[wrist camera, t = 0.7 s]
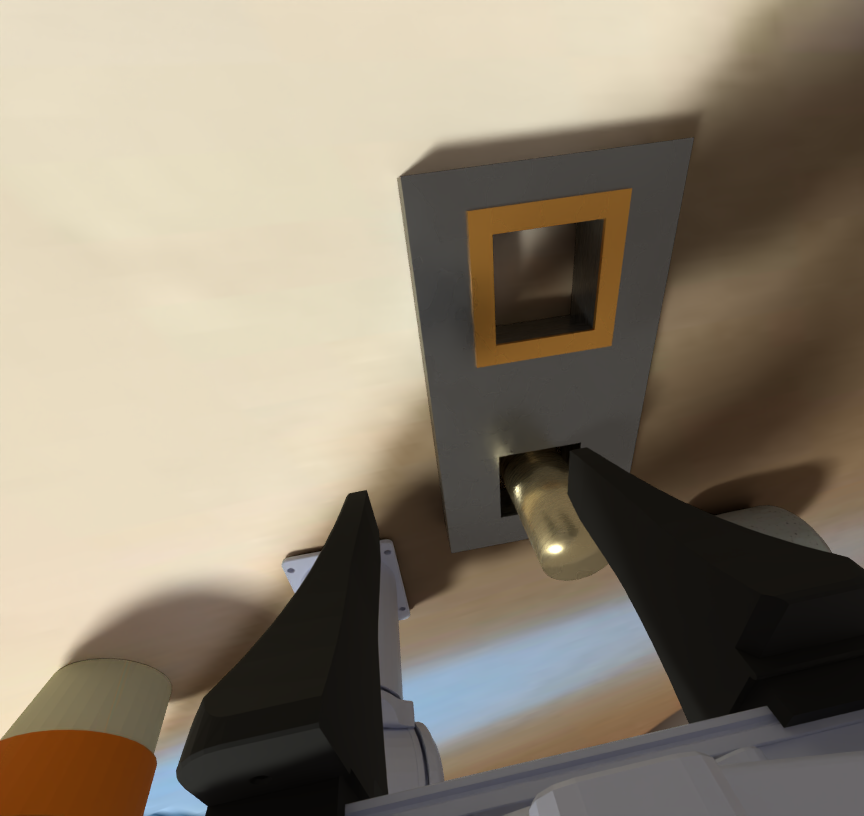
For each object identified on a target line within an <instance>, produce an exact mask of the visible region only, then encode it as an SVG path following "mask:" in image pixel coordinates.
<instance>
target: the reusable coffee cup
mask: <svg viewBox="0 0 864 816" xmlns="http://www.w3.org/2000/svg"><path fill="white" fill-rule="evenodd" d="M171 691H172V686H171V683H170V681H169V679H168V678H167V677H166V676H165V675H164V674H162V673H161V672H159V671H158V670H156V669H154V668H152V667H150V666H147V665H144V664H141V663H138V662H133V661H128V660H120V659H92V660H85V661H80V662H76V663H73V664H70V665H67V666H65V667H63V668H62V669H60V670H58V671H57V672H56V673H55V674H54V675H53V676H52V677H51V678H50V680H49V681H48V682H47V683H46V685H45V686H44V687H43V688H42V690H41V691H40V692H39V693H38V694H37V696H36V697H35V698H34V699H33V701H32V702H31V703H30V704H29V705H28V707H27V708H26V709H25V710H24V712H23V713H22V714H21V715H20V717H19V718H18V719H17V720H16V721H15V723H14V724H13V725H12V726H11V728H10V729H9V730H8V731H7V732H6V734H5V735H4V736H3V737H2V739H1V740H0V816H143V814H144V810H145V806H146V803H147V799H148V795H149V792H150V788H151V784H152V781H153V777H154V773H155V770H156V766H157V761H156V757H155V756H154V752H155V748H156V745H157V741H158V737H159V734H160V730H161V727H162V723H163V720H164V716H165V713H166V709H167V706H168V702H169V698H170V695H171Z"/></svg>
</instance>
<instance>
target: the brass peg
mask: <svg viewBox="0 0 864 816" xmlns="http://www.w3.org/2000/svg"><path fill="white" fill-rule="evenodd" d="M499 473H500V475H501V477H502V479H503V481H504V484H505V486H506V488H507V490H508V493H509V495H510V497H511V499H512V502H513V504H514V506H515V508H516V511H517V513H518V515H519V517H520V520H521V522H522V524H523V526H524V529H525V531H526V533H527V535H528V538H529V540H530V542H531V544H532V547H533V549H534V551H535V553H536V556H537V558H538V560H539V562H540V565H541V567H542V569H543V571H544V572H545V573H546V574H547V575H548V576H549V577H551V578H554V579H557V580H564V581H569V580H577V579H581V578H585V577H587V576H590V575H592V574H594V573H596V572H598V571H599V570H601V569H602V568H604V567H605V566H606V565H607V564H608V562H607V560H606V559H605V557H604V556H603V554H602V553H601V551H600V550H599V548H598V547H597V545H596V544H595V542H594V541H593V539H592V538H591V536H590V535H589V533H588V532H587V530H586V528H585V527H584V525H583V524H582V522H581V521H580V519H579V517H578V515H577V513H576V511H575V509H574V507H573V505H572V503H571V501H570V499H569V496H568V494H567V492H568V475H569V467H568V465H567V464H566V462H565V461H564V460H563V458H562V457H561V455H560V454H559V452H558V451H557V450H556V448H555V447H553V448H547V449H541V450H536V451H530V452H524V453H519V454H513V455H508V456H502V457H499Z"/></svg>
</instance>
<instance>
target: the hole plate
mask: <svg viewBox="0 0 864 816" xmlns="http://www.w3.org/2000/svg"><path fill="white" fill-rule="evenodd" d="M693 140H694V137H693V138H686V139H678V140H671V141H663V142H656V143H648V144H641V145H633V146H626V147H618V148H611V149H603V150H596V151H588V152H581V153H573V154H566V155H558V156H551V157H543V158H536V159H528V160H521V161H513V162H506V163H498V164H491V165H483V166H476V167H469V168H461V169H454V170H446V171H439V172H431V173H424V174H416V175H409V176H401V177H399V178H397V181H398V188H399V195H400V203H401V210H402V217H403V224H404V231H405V238H406V246H407V253H408V260H409V267H410V274H411V281H412V289H413V296H414V303H415V310H416V317H417V324H418V332H419V339H420V346H421V353H422V360H423V367H424V375H425V382H426V389H427V396H428V403H429V410H430V418H431V425H432V432H433V439H434V446H435V453H436V461H437V468H438V475H439V482H440V489H441V496H442V504H443V511H444V518H445V525H446V530H447V535H448V539H449V544H450V549H451V553H455V552H461V551H466V550H471V549H476V548H482V547H487V546H492V545H497V544H503V543H508V542H513V541H519V540H524V539H529V538H528V535H527V533H526V531H525V529H524V526H523V524H522V522H521V520H520V517H519V515H518V513H517V511H516V508H515V506H514V504H513V502H512V499H511V497H510V495H509V493H508V490H507V489H502V490H500V479H499V457H502V456H508V455H513V454H519V453H524V452H530V451H536V450H541V449H547V448H553V447H558V446H561V457H562V458H563V460H564V461H565V462H566V464H567V465H568V467H569V458H570V450H575V449H580V448H585V447H587V448H589V449H591V450H592V451H594V452H596V453H597V454H599V455H601V456H602V457H604V458H606V459H607V460H609V461H611V462H612V463H614V464H615V465H617V466H619V467H620V468H622V469H624V470H625V471H627V472H629V473H630V469H631V464H632V459H633V454H634V449H635V443H636V438H637V433H638V428H639V422H640V417H641V412H642V407H643V401H644V396H645V391H646V386H647V381H648V375H649V370H650V365H651V360H652V354H653V349H654V344H655V339H656V333H657V328H658V323H659V318H660V313H661V307H662V302H663V297H664V292H665V286H666V281H667V276H668V271H669V265H670V260H671V255H672V250H673V245H674V239H675V234H676V229H677V224H678V218H679V213H680V208H681V203H682V197H683V192H684V187H685V182H686V177H687V171H688V166H689V161H690V156H691V150H692V145H693ZM576 222H577V227H576V242H575V256H574V270H573V285H572V299H571V313H570V315H566V316H560V317H554V318H547V319H541V320H535V321H528V322H522V323H516V324H509V325H503V326H497V327H495V299H494V268H493V238H492V235H493V234H499V233H506V232H513V231H520V230H527V229H534V228H541V227H548V226H555V225H562V224H569V223H576Z"/></svg>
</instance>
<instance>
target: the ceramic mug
mask: <svg viewBox="0 0 864 816" xmlns="http://www.w3.org/2000/svg"><path fill="white" fill-rule="evenodd" d="M715 516H717V517H719V518H722V519H724V520H727V521H730V522H732V523H735V524H738V525H740V526H743V527H746V528H748V529H751V530H754V531H757V532H760V533H763V534H766V535H769V536H773V537H776V538H779V539H782V540H785V541H789V542H792V543H795V544H799V545H803V546H806V547H810V548H814V549H818V550H822V551H826V552H829V553H832V552H831V550H830V549H829V547H828V546H827V544H826V543H825V542H824V540H823V539H822V538H821V537H820V536H819V535H818V534H817V533H816V531H815V530H814V529H813V528H812V527H811V526H809V525H808V524H807V523H806V522H805V521H804V520H802V519H801V518H799V517H798V516H796V515H795V514H793V513H791V512H789V511H787V510H785V509H782V508H779V507H776V506H770V505H765V506H756V507H752V508H747V509H742V510H737V511H732V512H728V513H723V514H719V515H715Z"/></svg>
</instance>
